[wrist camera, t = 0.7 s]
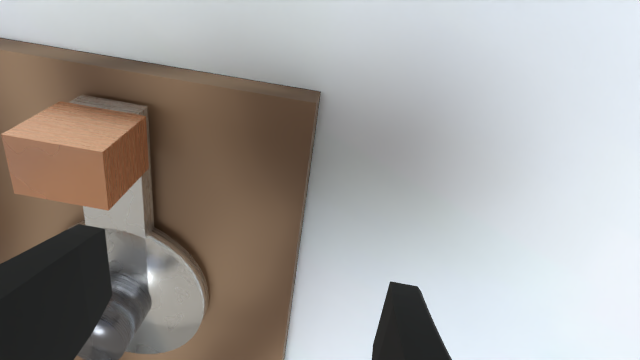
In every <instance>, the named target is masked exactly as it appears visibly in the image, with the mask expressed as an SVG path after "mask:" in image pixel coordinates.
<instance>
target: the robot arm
mask: <svg viewBox="0 0 640 360" xmlns="http://www.w3.org/2000/svg"><path fill="white" fill-rule="evenodd" d="M111 297H112V287H111V278H110V269H109V261H108V252H107V244H106V235H105V229H103V228H98V227H93V226H87V225H82V224H78V225H76V226H74V227H72V228H70V229H67V230H65V231H63V232H61V233H59V234H57V235H55V236H54V237H52V238H50V239H48V240H46V241H44V242H42V243H40V244H38V245H36V246H34V247H32V248H30V249H28V250H27V251H25V252H23V253H21V254H19V255H17V256H15V257H13V258H11V259H9V260H7V261H5V262H3V263H1V264H0V360H74V359H75V357H76V356H77V354H78V353H79V352H80V350H81V349H82V347H83V346H84V345H85V343H86V342H87V340H88V339H89V337H90V336H91V334H92V333H93V331H94V329H95V327H96V325H97V324H98V322H99V320H100V318H101V316H102V315H103V313H104V311H105V309H106V307H107V305H108V303H109V301H110V299H111ZM372 360H452V359H451V357H450V355H449V353H448V351H447V349H446V347H445V345H444V343H443V341H442V339H441V337H440V335H439V333H438V331H437V328H436V326H435V324H434V322H433V320H432V317H431V315H430V313H429V310H428V308H427V305H426V303H425V300H424V298H423V295H422V293H421V291H420V289H419V288H418V287H417V286H412V285H406V284H401V283H396V282H390V284H389V288H388V292H387V295H386V299H385V303H384V306H383V310H382V314H381V318H380V321H379V325H378V329H377V332H376V336H375V340H374V344H373V352H372Z"/></svg>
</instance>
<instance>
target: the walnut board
mask: <svg viewBox="0 0 640 360" xmlns="http://www.w3.org/2000/svg"><path fill="white" fill-rule="evenodd" d="M320 93H321V92H319V91H313V90H307V89H301V88H295V87H289V86H283V85H277V84H271V83H265V82H259V81H253V80H247V79H241V78H235V77H229V76H223V75H217V74H211V73H205V72H199V71H193V70H188V69H182V68H176V67H170V66H164V65H158V64H152V63H146V62H140V61H134V60H128V59H122V58H116V57H110V56H104V55H98V54H92V53H86V52H80V51H74V50H68V49H62V48H56V47H50V46H45V45H39V44H33V43H27V42H21V41H15V40H9V39H3V38H0V264H1V263H3V262H5V261H7V260H9V259H11V258H13V257H15V256H17V255H19V254H21V253H23V252H25V251H27V250H28V249H30V248H32V247H34V246H36V245H38V244H40V243H42V242H44V241H46V240H48V239H50V238H52V237H54V236H55V235H57V234H59V233H61V232H63V231H65V230H67V229H68V228H69V227H71V226H72V225H74V224H76V223H78V222H80V221H82V220H85V218H84V211H83V206H80V205H75V204H69V203H64V202H58V201H53V200H47V199H42V198H36V197H31V196H25V195H20V194H14V190H13V186H12V181H11V177H10V172H9V168H8V163H7V159H6V155H5V150H4V146H3V141H2V137H1V134H2V133H4V132H6V131H8V130H9V129H11V128H13V127H15V126H17V125H18V124H20V123H22V122H24V121H25V120H27V119H29V118H31V117H33V116H34V115H36V114H38V113H40V112H41V111H43V110H45V109H47V108H49V107H50V106H52V105H54V104H56V103H57V102H59V101H61V102H67V103H69V102H70V101H72V100H74V99H75V98H77V97H79V96H81V95H85V96H91V97H96V98H102V99H108V100H114V101H120V102H125V103H131V104H137V105H143V106H148V121H149V139H150V158H151V177H152V196H153V214H154V228H156V229H158V230H160V231H162V232H163V233H165V234H167V235H168V236H170V237H171V238H173V239H174V240H175V241H177V242H178V243H179V244H180V245H181V246H182V247H184V248H185V249H186V250H187V252H188V253H189V254H190V255H191V256H192V257H193V258H194V260H195V261H196V263H197V264H198V265H199V267H200V269H201V271H202V273H203V275H204V277H205V280H206V283H207V287H208V296H209V300H208V307H207V310H206V313H205V315H204V317H203V320H202V322H201V324H200V326H199V328H198V330H197V332H196V333H195V335H194V336H193V337H192V338H191V339H190V340H189V341H188V342H187V343H185V344H184V345H182V346H181V347H179V348H176V349H174V350H171V351H168V352H164V353H157V354H137V353H130V352H124V354H123V355H122V357H121V358H120V359H118V360H284V357H285V349H286V342H287V335H288V327H289V320H290V313H291V305H292V298H293V291H294V283H295V276H296V269H297V261H298V254H299V247H300V240H301V232H302V225H303V218H304V210H305V203H306V196H307V188H308V181H309V174H310V166H311V159H312V152H313V144H314V137H315V130H316V122H317V115H318V108H319V100H320ZM74 360H85V359H83V358H81V357H79V356H76V357H75V359H74Z"/></svg>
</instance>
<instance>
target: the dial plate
mask: <svg viewBox="0 0 640 360" xmlns="http://www.w3.org/2000/svg"><path fill="white" fill-rule="evenodd" d="M1 137H2V141H3V146H4V150H5V155H6V159H7V163H8V168H9V172H10V177H11V181H12V186H13V190H14V194H20V195H25V196H31V197H36V198H42V199H47V200H53V201H58V202H64V203H69V204H75V205H80V206H83V211H84V218H85V220H82V221H80V222H78V223H76V224H74V225H72V226H71V227H69V228H68V229H70V228H72V227H74V226H76V225H78V224H82V225H87V226H93V227H98V228H103V229H105V235H106V244H107V252H108V261H109V269H110V278H111V287H112V297H111V299H110V301H109V303H108V305H107V307H106V309H105V311H104V313H103V315H102V316H101V318H100V320H99V322H98V324H97V325H96V327H95V329H94V331H93V333H92V334H91V336H90V337H89V339H88V340H87V342H86V343H85V345H84V346H83V347H82V349H81V350H80V352H79V353H78V354H77V356H79V357H81V358H83V359H85V360H118V359H120V358H121V357H122V355H123V354H124V352H130V353H137V354H157V353H164V352H168V351H171V350H174V349H176V348H179V347H181V346H182V345H184V344H185V343H187V342H188V341H189V340H190V339H191V338H192V337H193V336H194V335H195V333H196V332H197V330H198V328H199V326H200V324H201V322H202V320H203V317H204V315H205V313H206V310H207V307H208V300H209V296H208V287H207V283H206V280H205V277H204V275H203V273H202V271H201V269H200V267H199V265H198V264H197V263H196V261H195V260H194V258H193V257H192V256H191V255H190V254H189V253H188V252H187V250H186V249H185V248H184V247H182V246H181V245H180V244H179V243H178V242H177V241H175V240H174V239H173V238H171V237H170V236H168V235H167V234H165V233H163V232H162V231H160V230H158V229H156V228H154V214H153V196H152V177H151V158H150V139H149V121H148V106H143V105H137V104H131V103H125V102H120V101H114V100H108V99H102V98H96V97H91V96H85V95H81V96H79V97H77V98H75V99H74V100H72V101H70V102H69V103H67V102H61V101H59V102H57V103H56V104H54V105H52V106H50V107H49V108H47V109H45V110H43V111H41V112H40V113H38V114H36V115H34V116H33V117H31V118H29V119H27V120H25V121H24V122H22V123H20V124H18V125H17V126H15V127H13V128H11V129H9V130H8V131H6V132H4V133H2V134H1Z"/></svg>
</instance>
